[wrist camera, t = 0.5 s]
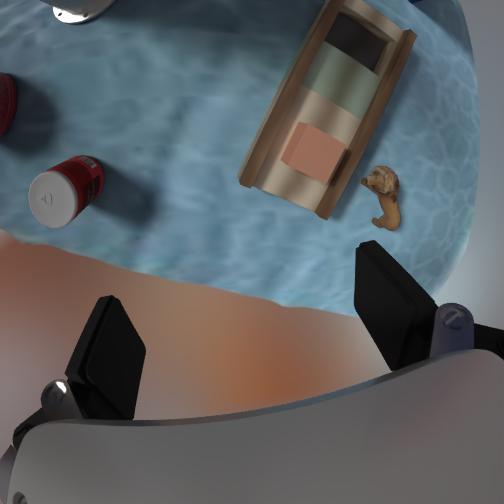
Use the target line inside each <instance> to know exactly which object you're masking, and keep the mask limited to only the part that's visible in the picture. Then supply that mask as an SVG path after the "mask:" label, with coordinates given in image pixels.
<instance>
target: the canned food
mask: <svg viewBox="0 0 504 504" xmlns="http://www.w3.org/2000/svg"><path fill="white" fill-rule="evenodd" d="M103 184H104V173H103V170H102V167H101V166H100V164H99V163H98V162H97V161H96V160H95V159H93V158H91V157H89V156H84V155H81V156H75V157H73V158H71V159H69V160H67V161H64V162H62V163H60V164H58V165H56V166H54V167H52V168H50V169H48V170H46V171H45V172H43V173H41V174H40V175H39V176H37V177H36V178H35V179H34V180H33V182H32V184H31V186H30V189H29V205H30V208H31V211H32V213H33V215H34V216H35V218H36V219H37V220H38V221H39V222H40V223H41V224H43V225H44V226H46V227H49V228H55V229H57V228H62V227H64V226H66V225H67V224H69V223H70V222H71V221H72V220H73V219H74V218H75V217H76V216H77V215H78V214H79V213H80V212H81V211H82V210H84V209H85V208H86V207H87V206H88V205H89V204H90V203H91V202H92V201H93V200H94V199H95V198H96V197H97V196H98V195H99V194H100V192H101V190H102V188H103Z"/></svg>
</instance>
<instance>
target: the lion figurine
mask: <svg viewBox="0 0 504 504" xmlns="http://www.w3.org/2000/svg"><path fill="white" fill-rule="evenodd" d="M361 184H363V185H364V186H366V187H369V188H370V189H371V190H372V191H373V192H375V193H376V194H377V195H378V198H379V202H380V205H381V208H382V210H383V212H384V215H383V216H381V217H380V218H379V219H378V220H377V218H373V219H372V223H373V224H374V225H375V226H377V227H378V228H381V227H385V228H386V229H388V230H389V231H395V230H396V229H397V227H398V226H399V225H400V222H401V215H400V212H399V207H398V199H397V197H398V193H399V192H398V191H399V187H400V186H399V180H398V177H397V175H396V174H395V172H394V171H393V170H392V169H391V168H388V167H386V166H375V167H374V168H373V170H372V172H371V175H369V176H367V179H366V178H364V179H362V182H361Z"/></svg>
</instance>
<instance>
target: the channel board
mask: <svg viewBox="0 0 504 504" xmlns="http://www.w3.org/2000/svg"><path fill="white" fill-rule="evenodd" d="M416 37H417V35H416V34H415V33H414V32H413V31H412V30H411V29H410V30H405V31H403V30H401V29H400V28H399V27H398V26H397V25H395V24H394V23H393V22H392V21H390V20H389V19H388V18H386V17H385V16H384V15H382V14H381V13H380V12H378V11H377V10H375V9H374V8H373V7H371V6H370V5H368V4H367V3H365V2H364V1H362V0H325V2H324V4H323V6H322V7H321V9H320V11H319V13H318V14H317V16H316V18H315V20H314V22H313V23H312V25H311V27H310V29H309V31H308V32H307V34H306V36H305V38H304V40H303V42H302V44H301V45H300V47H299V49H298V51H297V53H296V55H295V57H294V59H293V61H292V63H291V64H290V66H289V68H288V70H287V72H286V74H285V76H284V78H283V80H282V82H281V84H280V86H279V88H278V90H277V92H276V94H275V96H274V98H273V100H272V102H271V104H270V106H269V108H268V110H267V112H266V114H265V117H264V119H263V121H262V123H261V125H260V127H259V129H258V131H257V133H256V135H255V138H254V140H253V142H252V144H251V146H250V148H249V151H248V153H247V155H246V157H245V159H244V161H243V164H242V166H241V168H240V170H239V173H238V175H237V177H238V179H239V182H240V185H243V186H245V187H248V188H250V189H251V187H252V186H254V187H256V188H259V189H261V190H264V191H266V192H269V193H271V194H274V195H276V196H279V197H281V198H283V199H286V200H288V201H290V202H293V203H295V204H298V205H300V206H302V207H305V208H307V209H309V210H311V211H314V212H315V213H316V214H317V215H318V216H319V217H320V218H323V219H325V220H328V218H329V216H330V214H331V213H332V211H333V209H334V207H335V205H336V203H337V202H338V200H339V198H340V196H341V194H342V192H343V191H344V189H345V187H346V185H347V183H348V181H349V179H350V177H351V175H352V174H353V172H354V170H355V168H356V166H357V164H358V162H359V160H360V158H361V156H362V154H363V152H364V150H365V148H366V146H367V144H368V142H369V140H370V138H371V136H372V134H373V132H374V130H375V128H376V126H377V124H378V122H379V120H380V118H381V116H382V114H383V112H384V110H385V107H386V105H387V103H388V101H389V99H390V97H391V95H392V92H393V90H394V88H395V86H396V84H397V81H398V79H399V77H400V75H401V72H402V70H403V68H404V66H405V63H406V61H407V59H408V56H409V54H410V51H411V49H412V47H413V44H414V42H415V39H416ZM384 45H385V46H384ZM378 58H379V59H378ZM298 122H302V123H307V124H309V125H311V126H313V127H315V128H317V129H319V130H321V131H322V132H324V133H326V134H328V135H330V136H331V137H333V138H335V139H337V140H338V141H340V142H342V143H343V144H345V145H346V147H345V149H344V151H343V153H342V155H341V157H340V158H339V160H338V162H337V164H336V166H335V168H334V170H333V172H332V174H331V176H330V178H329V180H328V182H327V184H325V183H323V182H321V181H319V180H317V179H315V178H313V177H311V176H309V175H307V174H304V173H302V172H300V171H298V170H296V169H294V168H292V167H289V166H287V165H286V164H285V163H284V162H282V161H281V160H280V159H281V156H282V154H283V152H284V150H285V148H286V146H287V144H288V142H289V140H290V138H291V136H292V134H293V132H294V130H295V128H296V126H297V124H298Z"/></svg>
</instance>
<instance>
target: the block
mask: <svg viewBox="0 0 504 504" xmlns="http://www.w3.org/2000/svg"><path fill="white" fill-rule="evenodd" d="M345 147H346V145H345V144H343V143H342V142H340V141H338V140H337V139H335V138H333V137H331V136H330V135H328V134H326V133H324V132H322V131H321V130H319V129H317V128H315V127H313V126H311V125H309V124H307V123H302V122H298V124H297V126H296V128H295V130H294V132H293V134H292V136H291V138H290V140H289V142H288V144H287V146H286V148H285V150H284V152H283V154H282V156H281V159H280V160H281V161H282V162H284V163H285V164H286V165H287V166H289V167H292V168H294V169H296V170H298V171H300V172H302V173H304V174H307V175H309V176H311V177H313V178H315V179H317V180H319V181H321V182H323V183H325V184H327V182H328V180H329V178H330V176H331V174H332V172H333V170H334V168H335V166H336V164H337V162H338V160H339V158H340V157H341V155H342V153H343V151H344V149H345Z"/></svg>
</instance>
